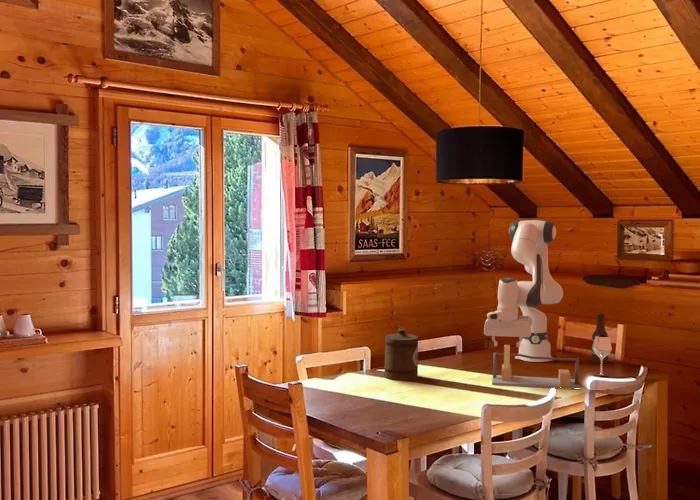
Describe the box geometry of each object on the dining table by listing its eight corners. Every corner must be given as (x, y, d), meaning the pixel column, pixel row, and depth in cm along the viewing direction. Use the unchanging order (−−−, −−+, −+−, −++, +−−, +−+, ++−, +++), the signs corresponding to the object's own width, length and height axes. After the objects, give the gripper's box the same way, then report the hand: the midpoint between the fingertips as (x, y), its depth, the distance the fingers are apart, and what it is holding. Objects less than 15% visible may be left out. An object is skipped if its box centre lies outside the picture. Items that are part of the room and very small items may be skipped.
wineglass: (590, 376, 319) (591, 336, 318) (593, 372, 326) (594, 333, 325) (609, 378, 315) (610, 338, 314) (612, 374, 322) (613, 335, 321)
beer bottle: (587, 361, 350) (589, 312, 349) (599, 359, 353) (601, 311, 352) (599, 364, 343) (600, 315, 342) (611, 363, 346) (612, 314, 345)
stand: (492, 377, 317) (493, 350, 316) (576, 381, 309) (577, 354, 309) (492, 384, 303) (492, 357, 302) (580, 389, 296) (580, 361, 295)
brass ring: (503, 364, 314) (504, 344, 314) (509, 365, 314) (509, 344, 313) (503, 368, 307) (504, 348, 306) (509, 369, 306) (509, 348, 306)
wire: (495, 354, 312) (495, 352, 312) (576, 358, 305) (576, 356, 304) (495, 357, 307) (495, 355, 307) (577, 360, 300) (577, 359, 300)
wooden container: (422, 379, 312) (423, 329, 311) (391, 381, 308) (391, 331, 307) (410, 371, 327) (411, 324, 325) (380, 373, 322) (380, 325, 321)
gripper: (531, 314, 310) (531, 346, 311) (484, 313, 314) (483, 344, 315) (532, 316, 304) (531, 348, 304) (483, 315, 308) (483, 346, 309)
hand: (506, 346), depth 310 cm, fingers open, 8 cm apart
